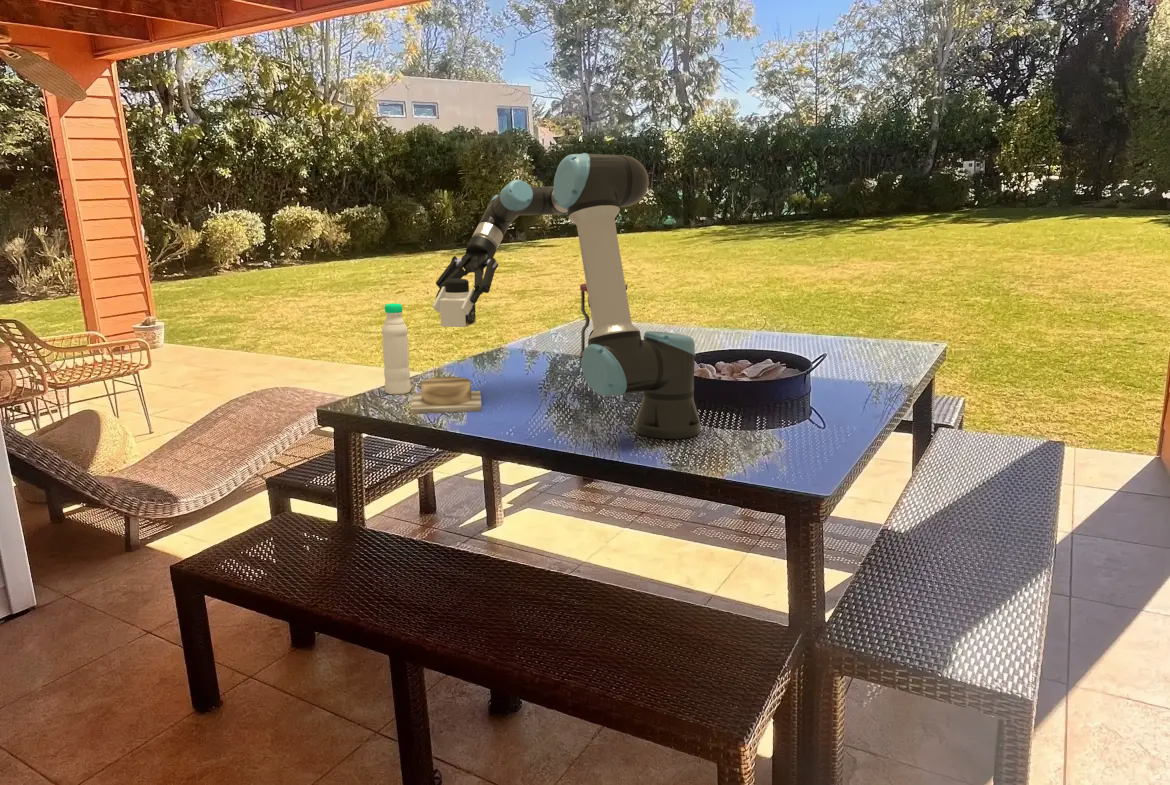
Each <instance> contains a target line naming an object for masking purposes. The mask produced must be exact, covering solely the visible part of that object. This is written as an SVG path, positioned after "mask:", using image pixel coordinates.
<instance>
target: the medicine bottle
mask: <svg viewBox="0 0 1170 785" xmlns="http://www.w3.org/2000/svg"><path fill="white" fill-rule="evenodd" d="M469 284H470V283H469V280H467V279H466V278H461V279H460V278H455V279H448V280H446V281H445V293H446V295H447V297H445V298H442V299H440V315H439V316H440V326H441V327H449V328H450V327H451V328H452V327H453V328H467V327H469V326H472V325H474V324H476V322H477V319H476V317H477V316H476V303H474V304H473V306H472V308H471V310H470V312H469V314H468V315H465V313H464V312H463V310H462V309H461V307H462V305H463V303H464V301H465V299H466V297H467V295H468V293H469V291H470V286H469Z"/></svg>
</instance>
